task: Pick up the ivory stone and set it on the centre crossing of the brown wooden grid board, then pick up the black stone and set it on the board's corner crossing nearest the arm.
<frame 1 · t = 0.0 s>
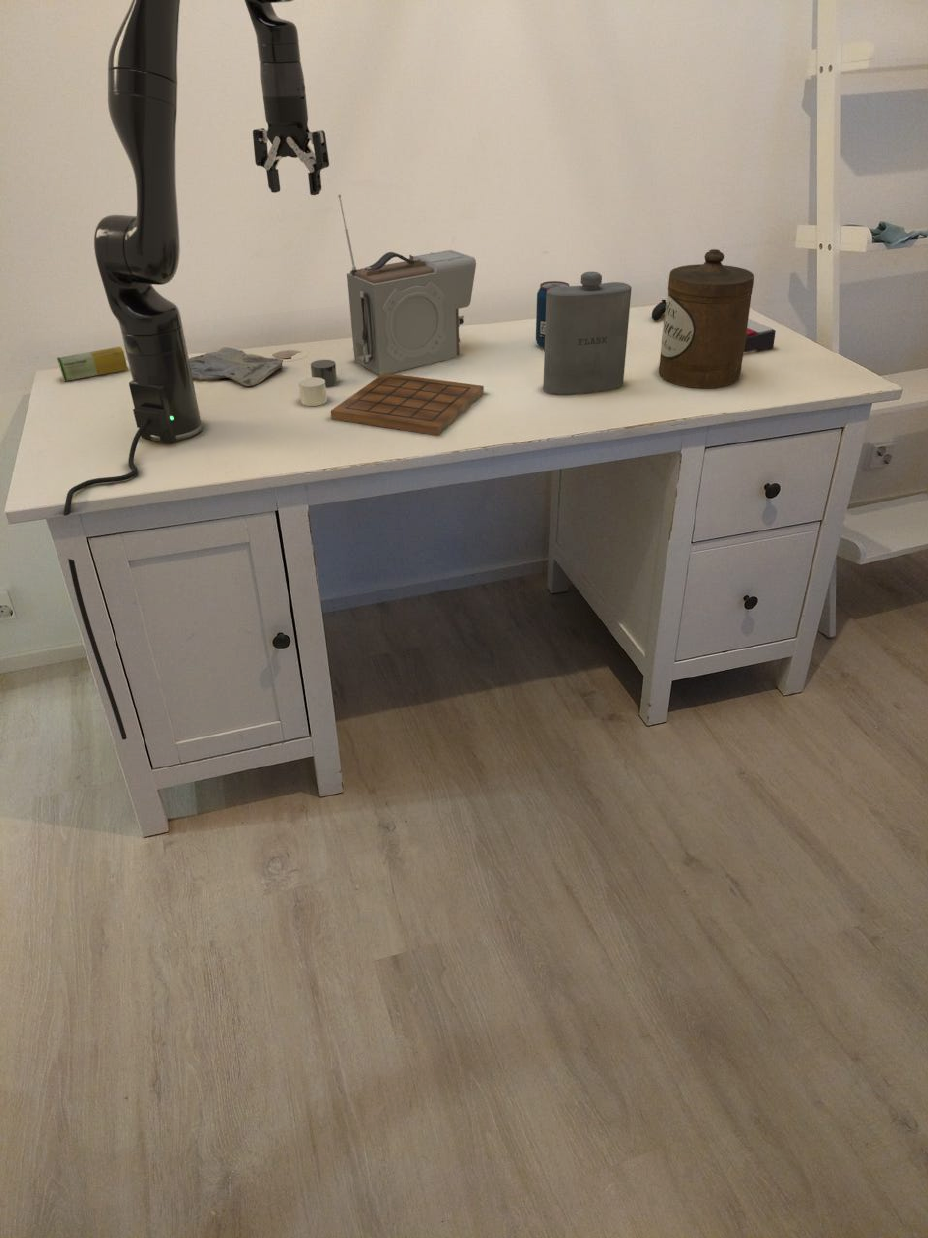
hand: (295, 193, 165), 29 cm above the table, tool pointing down, fingers open, 8 cm apart
flask: (584, 388, 161), on the table
fossil rock: (230, 374, 171), on the table
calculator: (725, 347, 179), on the table
ivory stone: (314, 401, 158), on the table
board: (409, 405, 155), on the table
portable television: (412, 357, 177), on the table
medication box: (96, 375, 172), on the table
dark grey oval piece: (673, 319, 195), on the table
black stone: (325, 382, 166), on the table
wooden container: (698, 375, 166), on the table
soda can: (552, 346, 181), on the table
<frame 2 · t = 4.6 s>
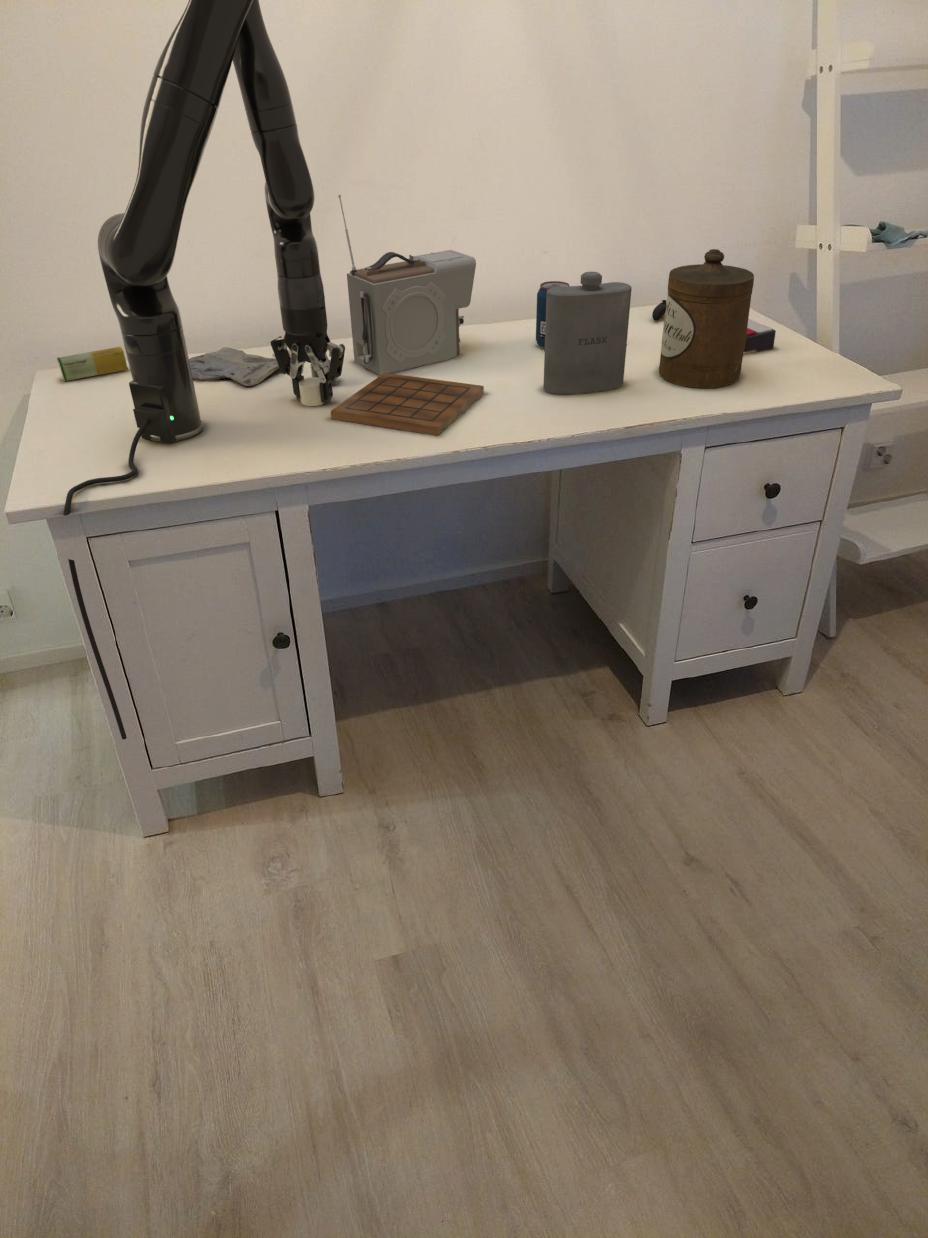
hand: (313, 398, 158), 0 cm above the table, tool pointing down, fingers closed on ivory stone, 4 cm apart
ivory stone: (314, 401, 158), on the table, touching gripper
everything else where it was.
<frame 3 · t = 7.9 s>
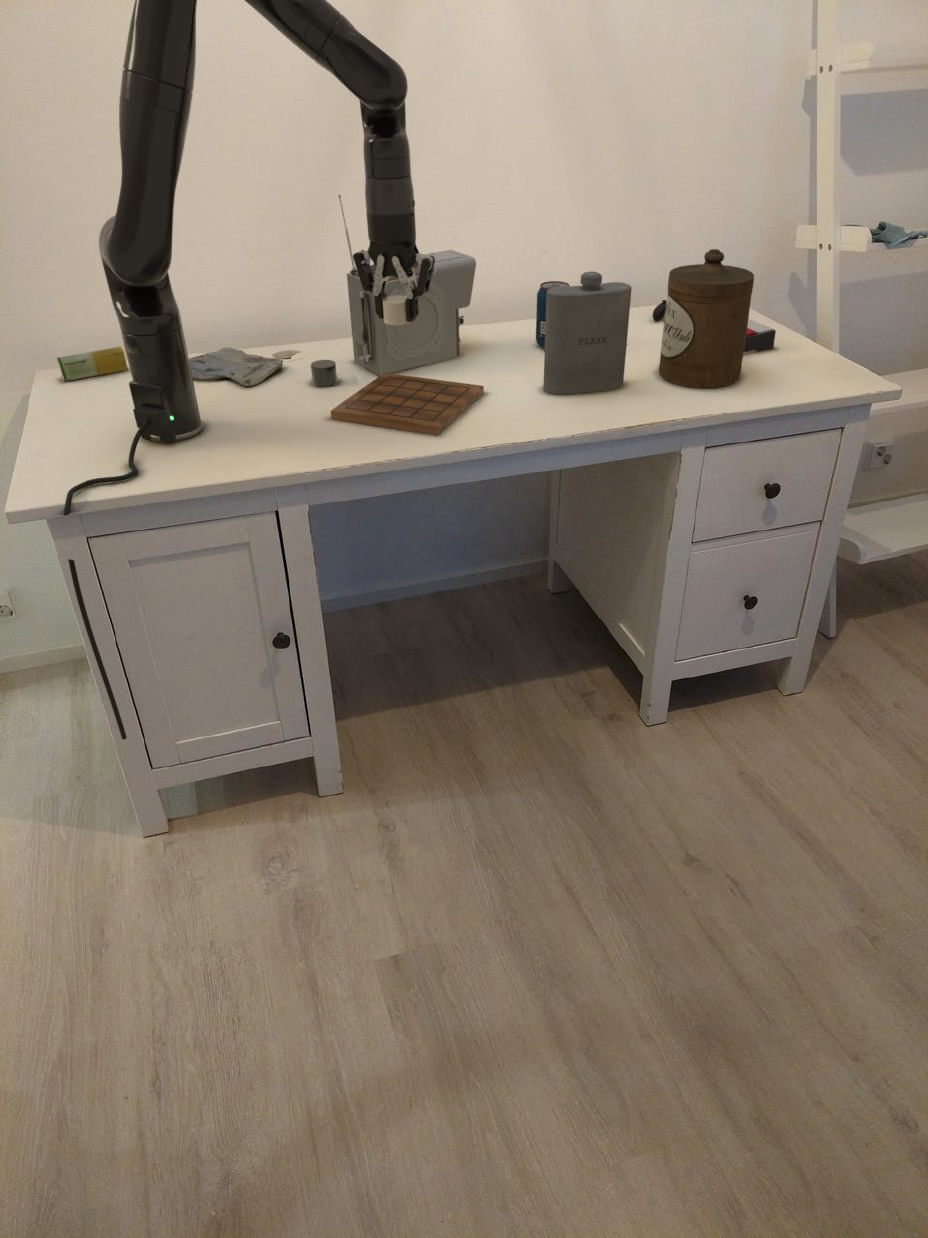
hand: (397, 318, 147), 15 cm above the table, tool pointing down, fingers closed on ivory stone, 4 cm apart
ivory stone: (397, 321, 147), point 15 cm above the table, touching gripper
everything else where it was.
when the fingers open (2 cm above the table, at t = 11.2 s): ivory stone stays where it is, resting on board.
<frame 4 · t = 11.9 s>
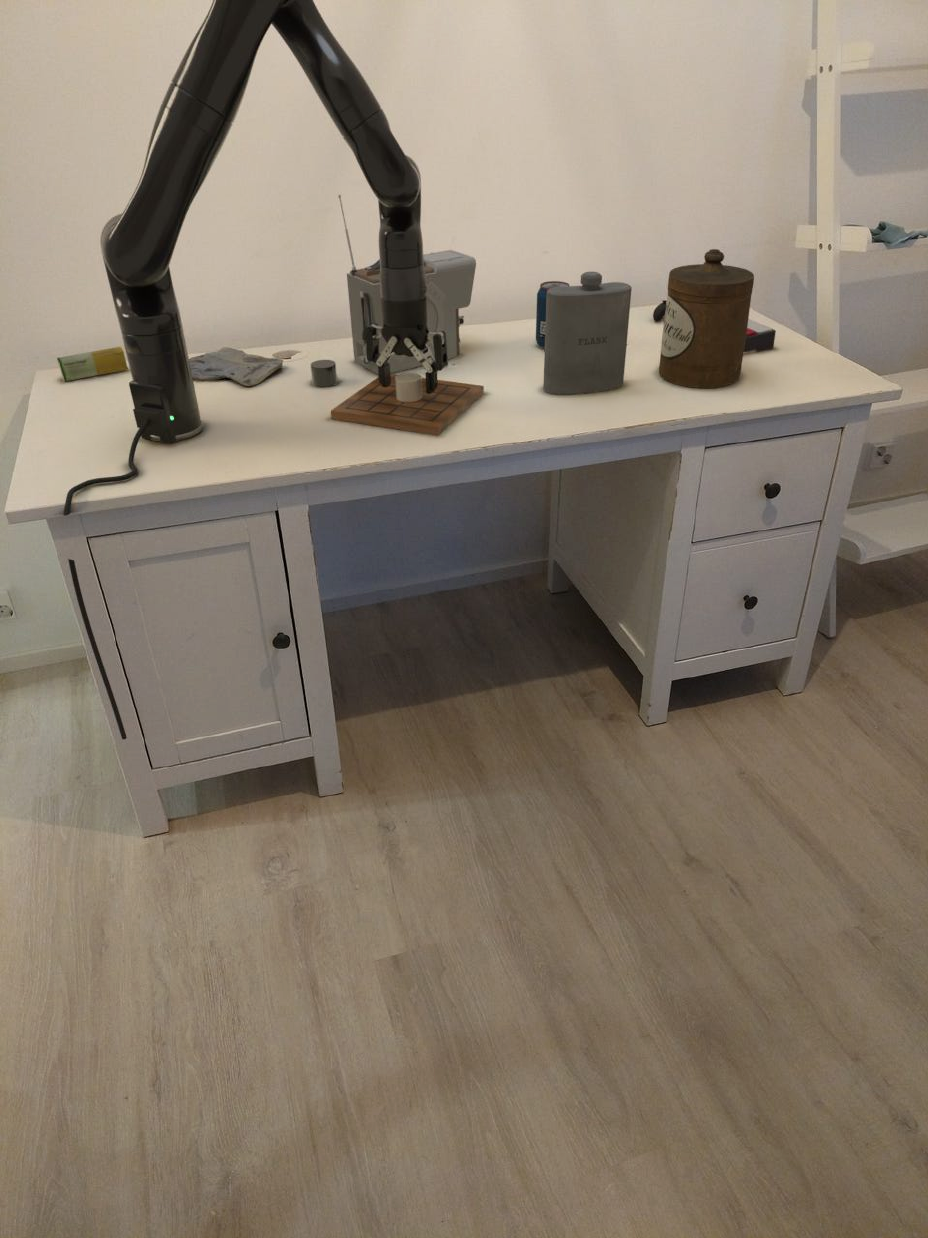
hand: (408, 389, 154), 3 cm above the table, tool pointing down, fingers open, 8 cm apart
ivory stone: (409, 397, 155), point 2 cm above the table, touching board
everything else where it was.
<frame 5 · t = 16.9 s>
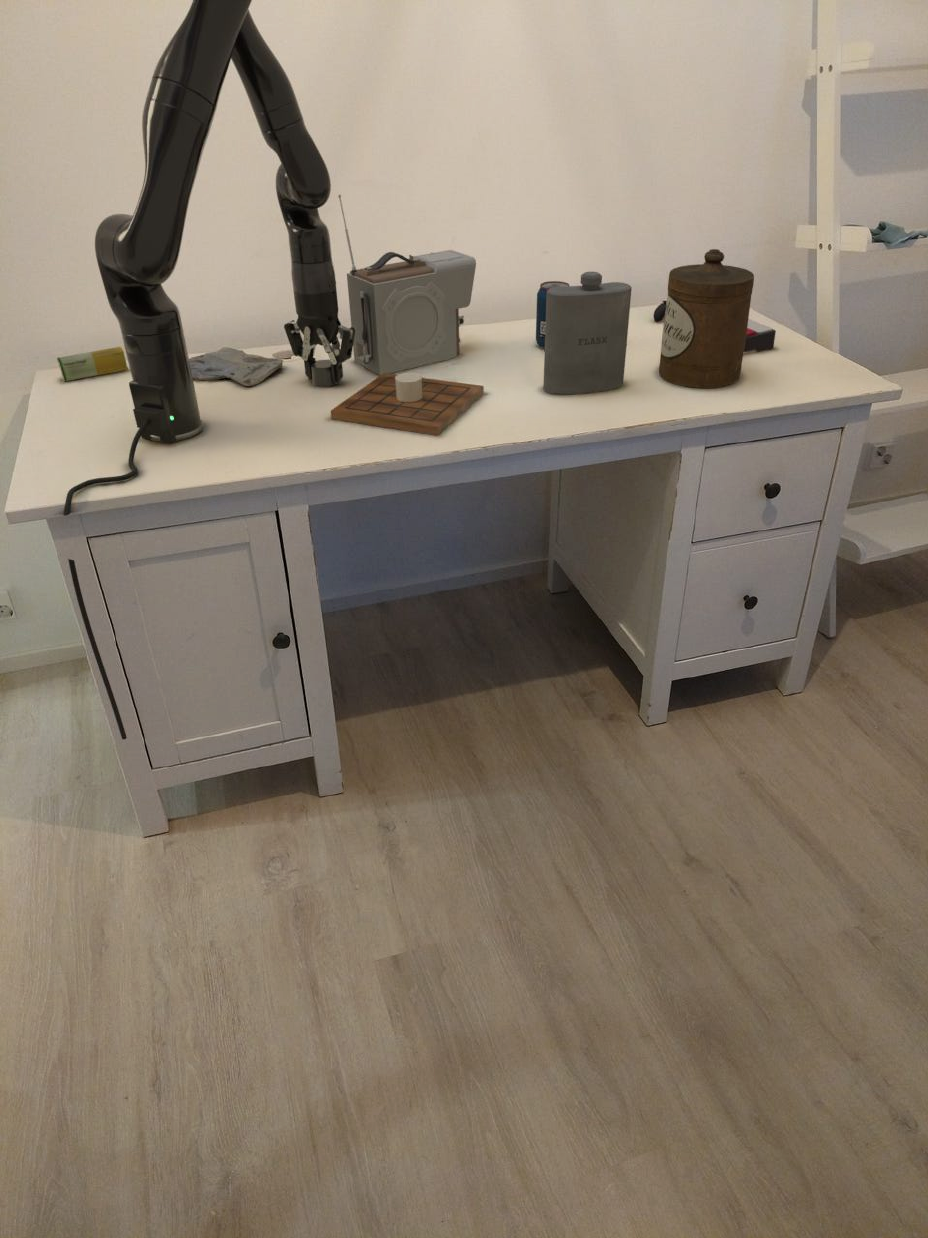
hand: (325, 380, 166), 0 cm above the table, tool pointing down, fingers closed on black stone, 4 cm apart
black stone: (325, 382, 166), on the table, touching gripper
everything else where it was.
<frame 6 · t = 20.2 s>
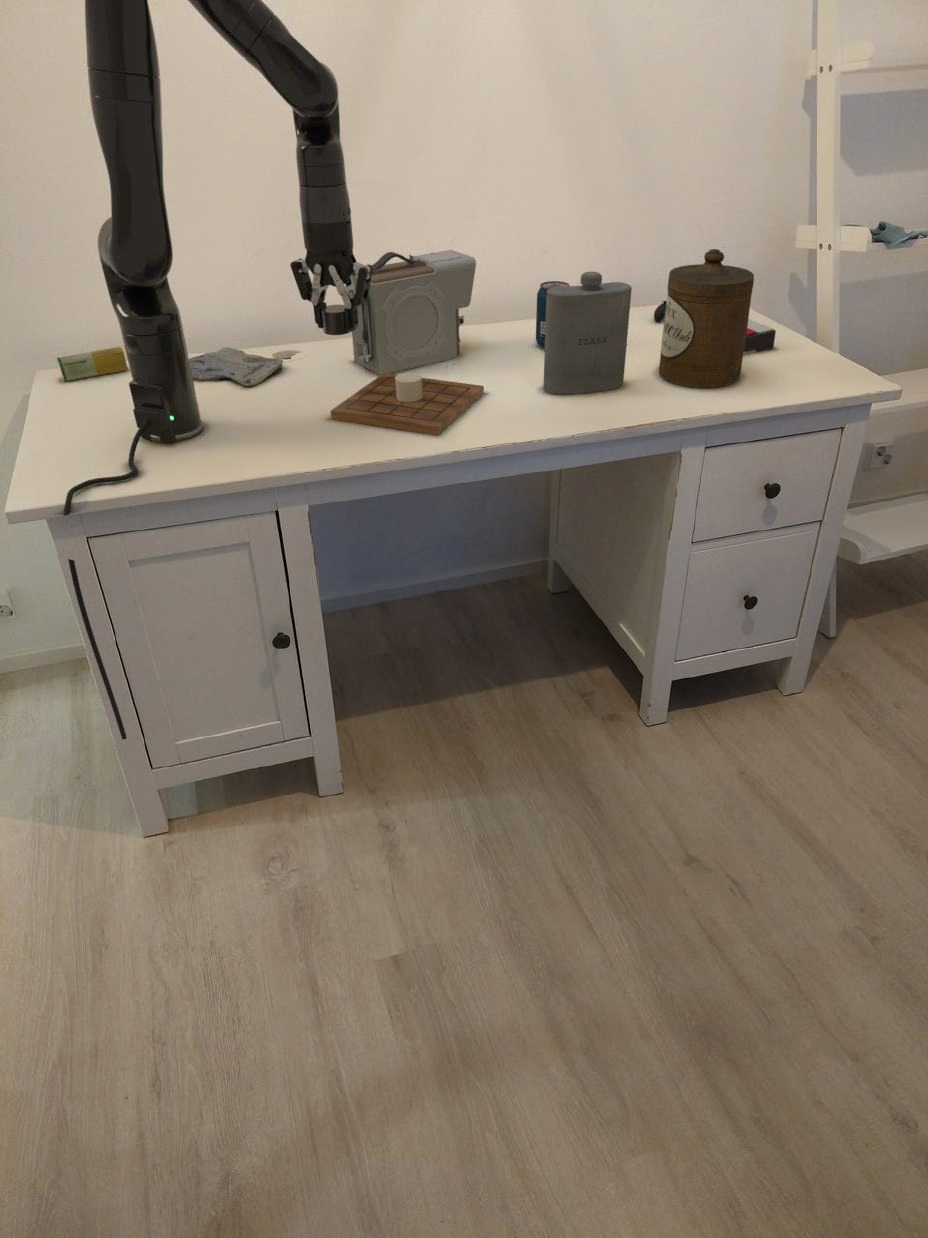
hand: (337, 328, 145), 15 cm above the table, tool pointing down, fingers closed on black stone, 4 cm apart
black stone: (337, 330, 145), point 14 cm above the table, touching gripper
everything else where it was.
when the fingers open (2 cm above the table, at t = 23.5 s): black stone stays where it is, resting on board.
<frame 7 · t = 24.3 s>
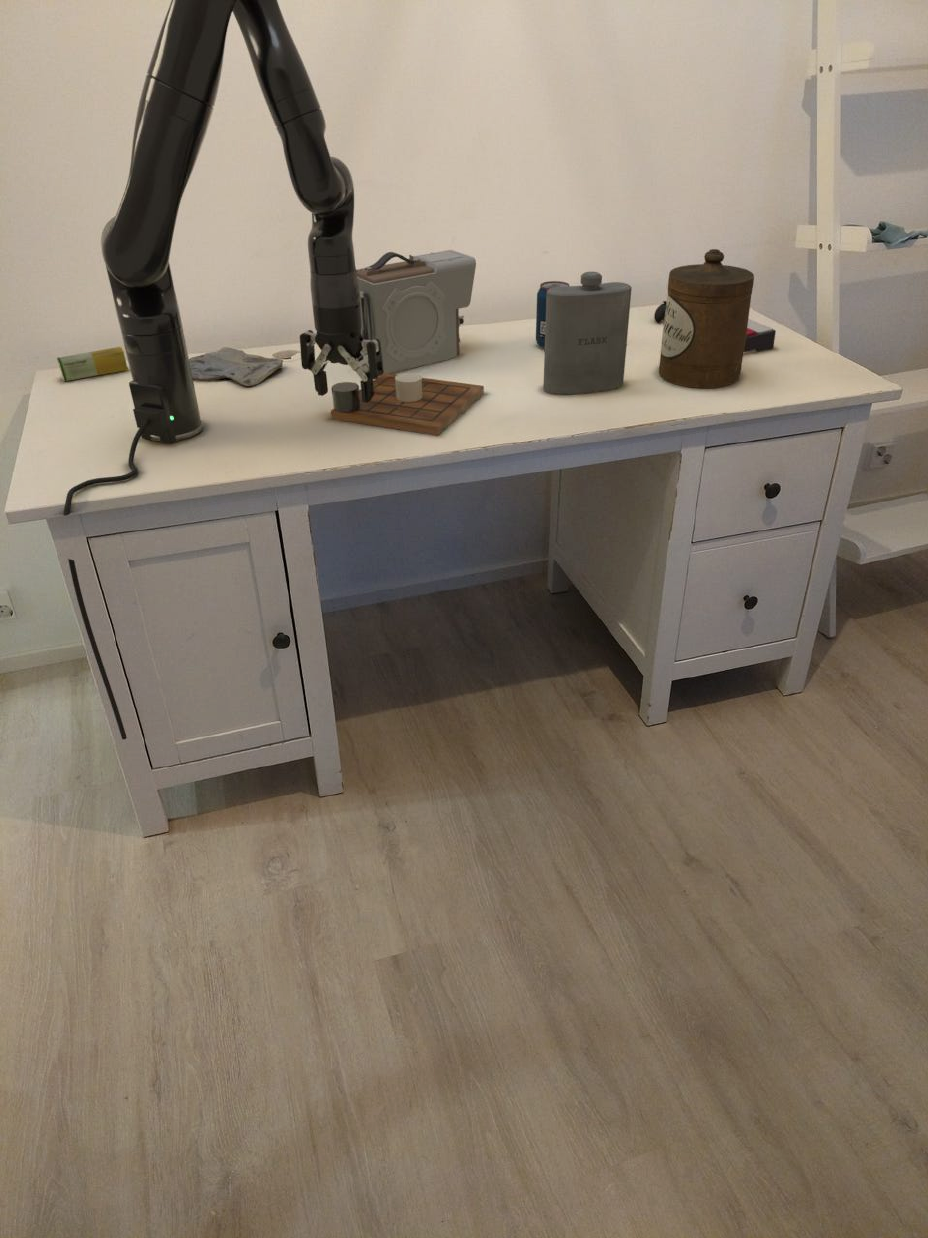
hand: (345, 397, 150), 3 cm above the table, tool pointing down, fingers open, 8 cm apart
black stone: (347, 407, 151), point 2 cm above the table, touching board
everything else where it was.
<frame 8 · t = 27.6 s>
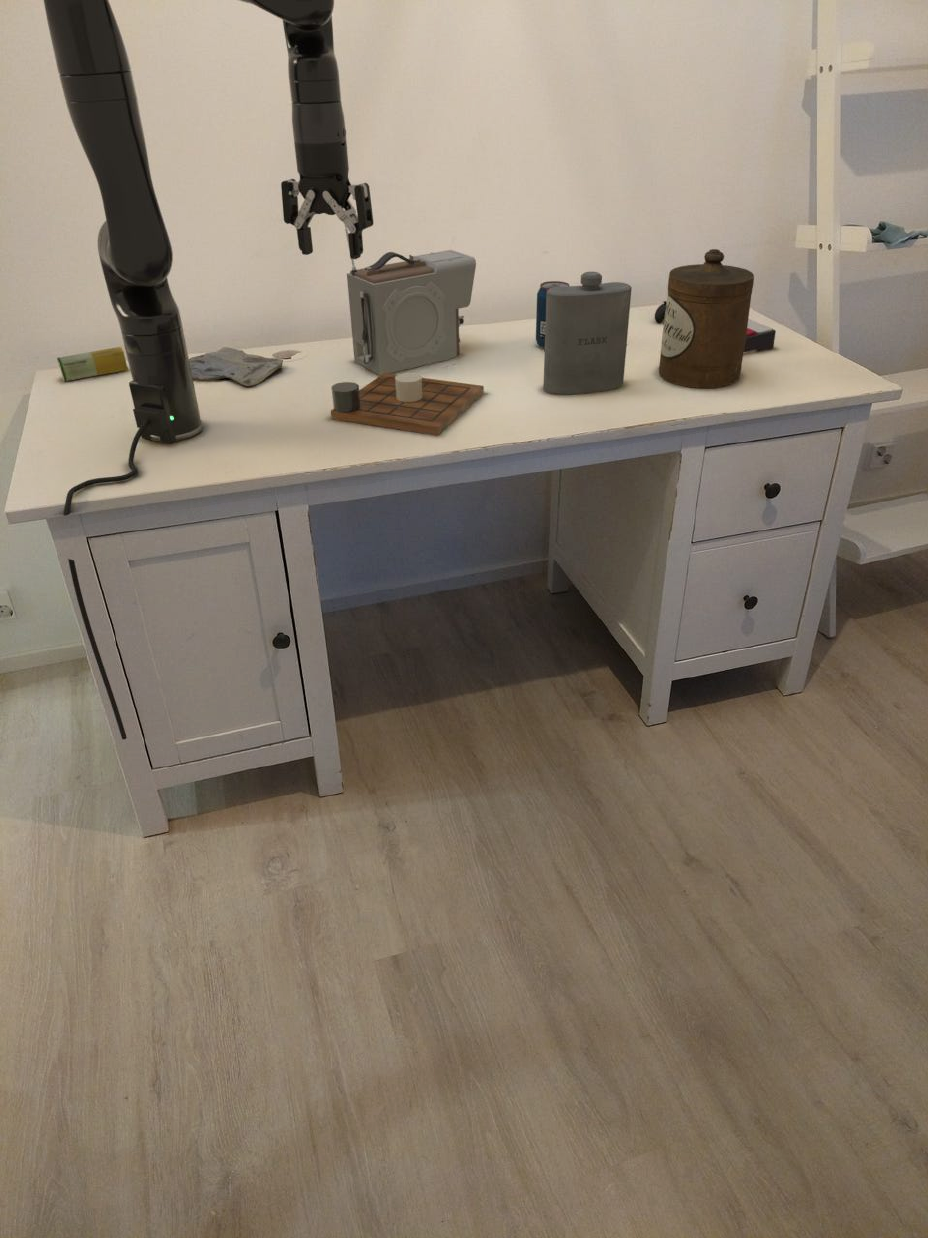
hand: (331, 255, 137), 26 cm above the table, tool pointing down, fingers open, 8 cm apart
at the end: ivory stone 0.1 cm off-centre on the board, point 1.5 cm above the board's base; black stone 0.2 cm from the target spot on the board, point 1.5 cm above the board's base; ivory stone tilted 0° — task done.
